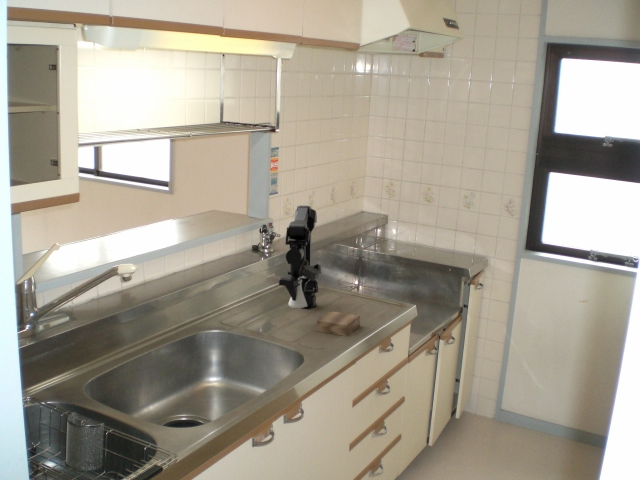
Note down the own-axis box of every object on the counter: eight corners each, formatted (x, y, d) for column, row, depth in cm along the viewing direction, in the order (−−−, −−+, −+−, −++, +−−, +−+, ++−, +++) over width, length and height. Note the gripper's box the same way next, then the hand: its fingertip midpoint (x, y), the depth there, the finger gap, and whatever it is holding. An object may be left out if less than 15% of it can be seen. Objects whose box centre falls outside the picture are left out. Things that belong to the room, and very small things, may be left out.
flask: (293, 309, 254) (293, 283, 251) (285, 304, 260) (284, 278, 258) (311, 307, 257) (311, 281, 255) (302, 301, 263) (302, 276, 261)
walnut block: (317, 330, 257) (317, 320, 256) (331, 321, 267) (331, 311, 267) (346, 335, 252) (346, 325, 251) (359, 325, 262) (359, 315, 261)
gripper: (305, 266, 243) (305, 308, 246) (328, 254, 259) (328, 294, 262) (277, 262, 248) (278, 304, 251) (302, 251, 264) (302, 290, 267)
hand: (297, 298), depth 258 cm, fingers closed on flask, 5 cm apart
